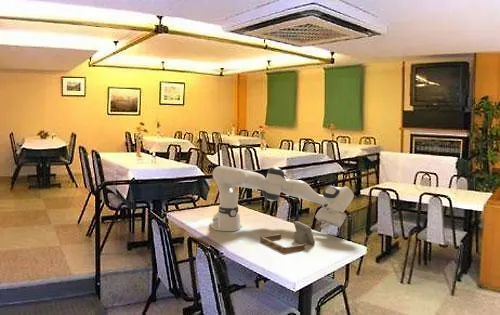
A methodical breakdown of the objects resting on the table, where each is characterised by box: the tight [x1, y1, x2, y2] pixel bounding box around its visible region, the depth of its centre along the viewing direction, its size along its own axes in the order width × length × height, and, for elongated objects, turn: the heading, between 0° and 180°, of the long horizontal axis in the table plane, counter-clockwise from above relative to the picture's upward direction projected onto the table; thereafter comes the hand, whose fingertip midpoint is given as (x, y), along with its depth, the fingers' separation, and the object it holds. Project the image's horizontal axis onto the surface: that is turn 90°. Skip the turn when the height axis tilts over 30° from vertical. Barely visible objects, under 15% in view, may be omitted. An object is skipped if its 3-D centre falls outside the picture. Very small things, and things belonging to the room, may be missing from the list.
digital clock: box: [293, 220, 316, 245], centre depth 257 cm, size 16×9×11 cm, turn 13°
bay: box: [259, 233, 306, 254], centre depth 250 cm, size 24×13×2 cm, turn 31°
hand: (322, 228), depth 264 cm, fingers closed
